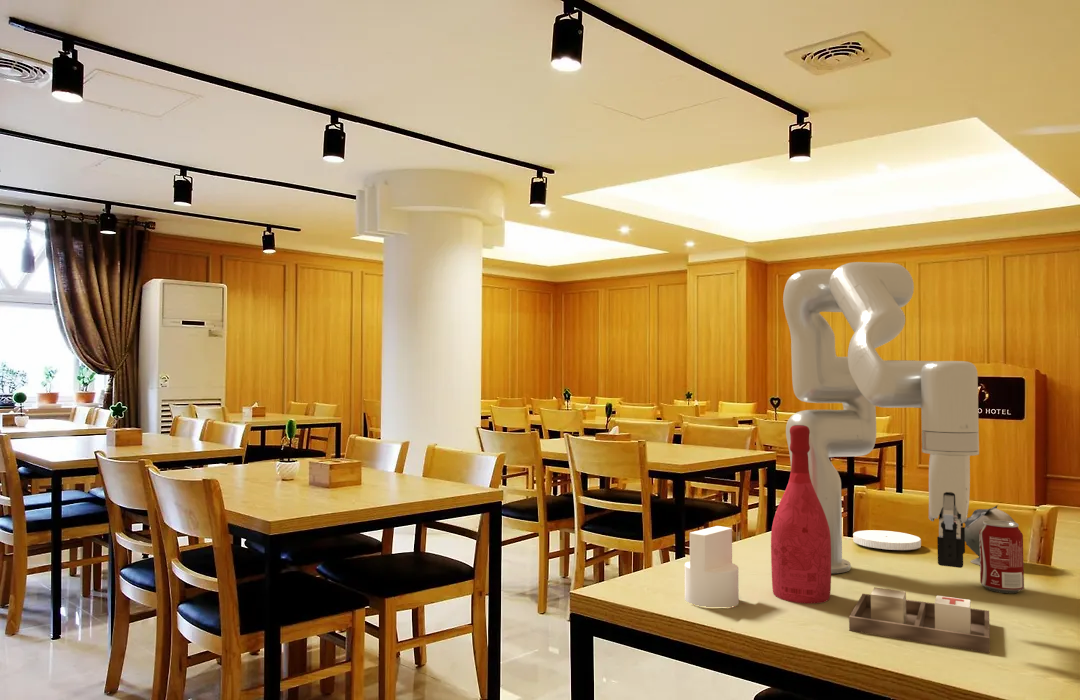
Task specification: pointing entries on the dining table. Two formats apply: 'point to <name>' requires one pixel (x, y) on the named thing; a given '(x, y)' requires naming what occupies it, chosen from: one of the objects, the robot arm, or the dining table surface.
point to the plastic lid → (887, 540)
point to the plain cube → (888, 605)
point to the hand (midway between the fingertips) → (951, 559)
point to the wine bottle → (800, 534)
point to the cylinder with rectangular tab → (711, 569)
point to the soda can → (1001, 556)
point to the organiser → (922, 626)
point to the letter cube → (952, 614)
